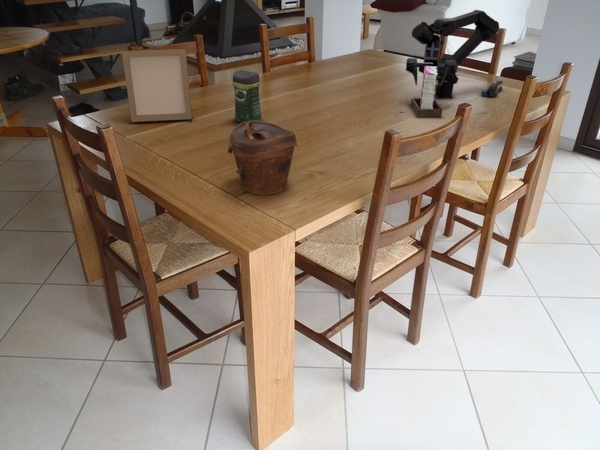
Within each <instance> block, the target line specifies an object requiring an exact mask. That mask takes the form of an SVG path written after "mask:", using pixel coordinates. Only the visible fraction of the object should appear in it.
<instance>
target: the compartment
mask: <svg viewBox="0 0 600 450" xmlns="http://www.w3.org/2000/svg"><path fill="white" fill-rule="evenodd" d="M420 99H421V97H412V98H411V100H410V107H411V109H412V111H413V113H414V115H415V116H416V118H419V119H421V118H423V119H424V118H426V119H441V118H442V113H443V109H442V107H441V106H440V104H439V103H438V102H437V100H436V99H435V98H434V104H433V109H420Z"/></svg>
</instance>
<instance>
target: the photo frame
mask: <svg viewBox="0 0 600 450" xmlns="http://www.w3.org/2000/svg"><path fill="white" fill-rule="evenodd" d="M121 56H122V63H123V71H124V77H125V85H126V91H127V100H128V106H129V107H128V108H129V114H130V120H131V123H138V122H140V123H141V122H158V121H159V122H160V121H178V120H192V119H193V110H192V100H191V91H190V90H191V89H190V80H189V71H188V60H187V51H186V48H174V49H173V48H172V49H171V48H170V49H142V50H121Z"/></svg>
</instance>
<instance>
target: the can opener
mask: <svg viewBox="0 0 600 450" xmlns="http://www.w3.org/2000/svg"><path fill="white" fill-rule="evenodd" d="M503 83H504V81H503V80H496V81H493V82H492V83H491V84H490V85H489V86H488V88H485V89H482V90H481V92H480V94H481V95H482V96H489V97H497V96H498V94H499V92H500V91H501V90H502V89H503V86H501V85H502V84H503Z"/></svg>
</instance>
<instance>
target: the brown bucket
mask: <svg viewBox="0 0 600 450" xmlns="http://www.w3.org/2000/svg"><path fill="white" fill-rule="evenodd" d="M227 147H228V148H227V154H230V157H231V158H232V154H233V157H234V160H235V164H236V168H237V170H236V171H235V172H236V174H238V175H239V178H240V182H241V185H242V187H243V189H244V190H246V191H247V192H249V193H251V194H254V195H258V196H269V195H275V194H277V193H280V192H282V191H284V189H285V188H286V187H287V185H288V184H287V183H288V179H289V178H288V177H289V176H290V175H289V174H290V170H291V165H292V161H293V156H294V151H295V147H298V148H299V145H298V141H297V137H296V134H295V132H293V131H291V130H288V129H285V128H283V127H281V126H279V125H277V124H274V123H271V122H267V121H263V120H261V121H246V122H243V123H239V124H238V125H237V126H236V127H234V128H233V130H232V131H231V133H230V135H229V138H228V146H227Z"/></svg>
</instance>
